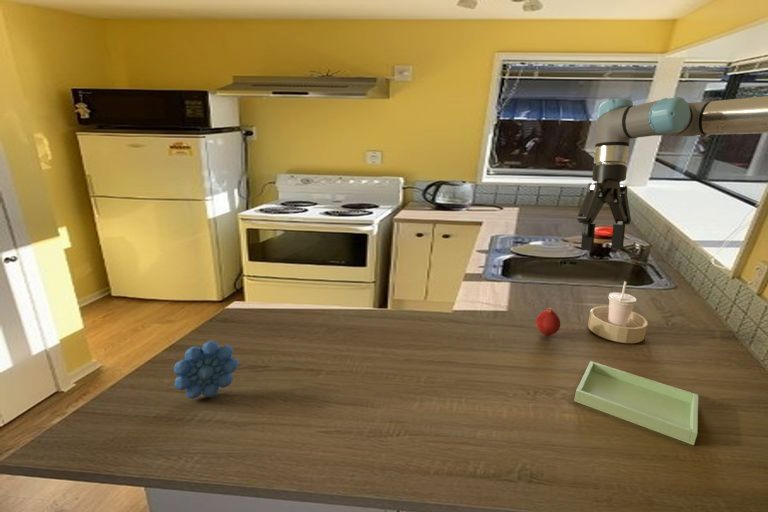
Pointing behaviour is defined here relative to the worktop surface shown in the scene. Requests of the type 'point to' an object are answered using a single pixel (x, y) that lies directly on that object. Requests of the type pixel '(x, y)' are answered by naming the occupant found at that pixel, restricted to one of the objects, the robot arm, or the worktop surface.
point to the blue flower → (205, 369)
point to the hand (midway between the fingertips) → (602, 249)
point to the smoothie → (620, 307)
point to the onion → (548, 322)
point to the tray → (640, 401)
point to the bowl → (627, 334)
